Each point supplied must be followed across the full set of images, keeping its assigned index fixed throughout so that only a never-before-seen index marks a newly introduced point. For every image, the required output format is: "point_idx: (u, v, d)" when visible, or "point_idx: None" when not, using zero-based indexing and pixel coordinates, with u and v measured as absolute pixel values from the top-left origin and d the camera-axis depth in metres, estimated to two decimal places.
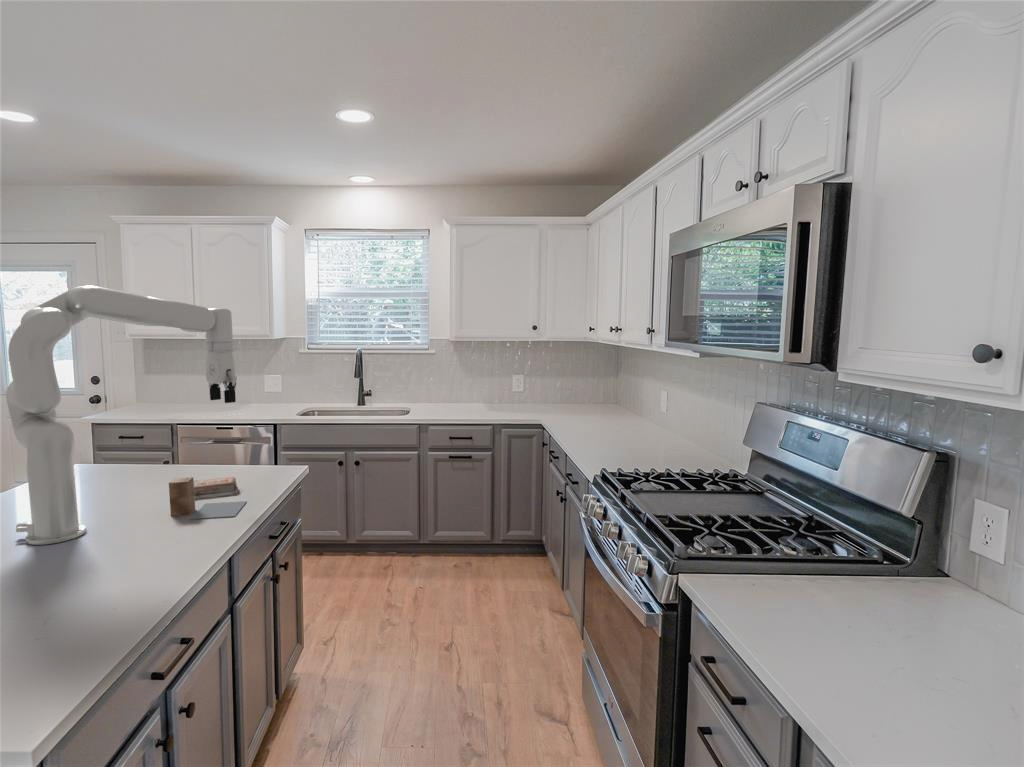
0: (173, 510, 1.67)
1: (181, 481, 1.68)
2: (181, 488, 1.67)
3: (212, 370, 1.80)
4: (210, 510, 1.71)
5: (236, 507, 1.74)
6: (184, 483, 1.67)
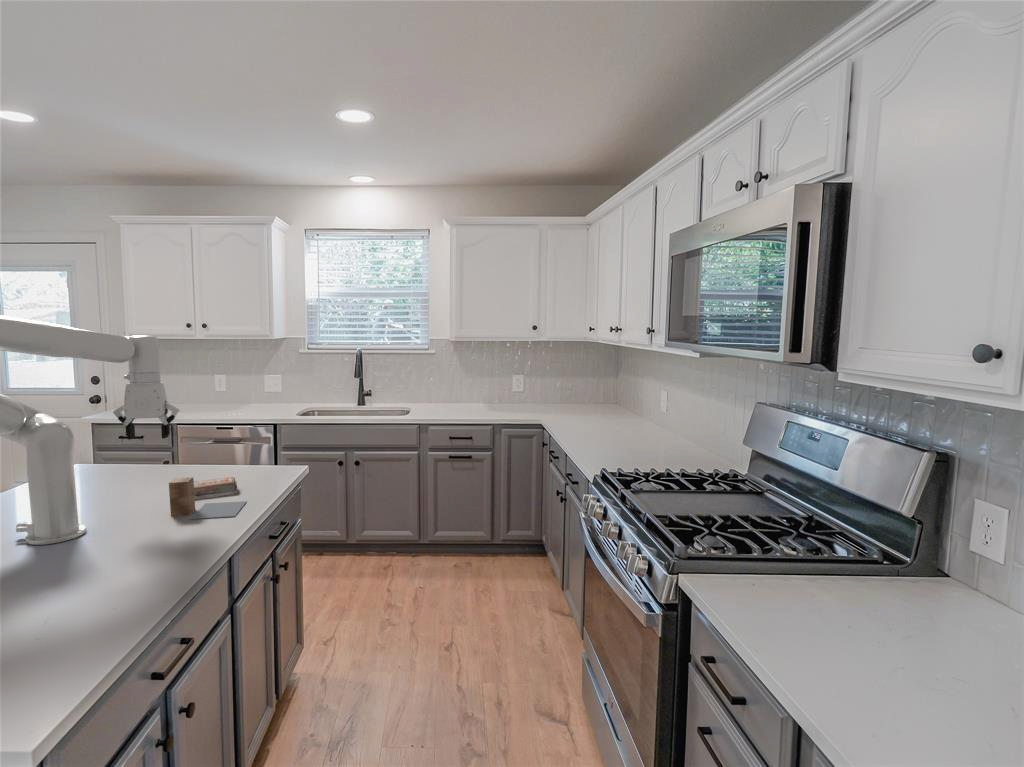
0: (173, 510, 1.67)
1: (181, 481, 1.68)
2: (181, 488, 1.67)
3: (143, 404, 1.62)
4: (210, 510, 1.71)
5: (236, 507, 1.74)
6: (184, 483, 1.67)
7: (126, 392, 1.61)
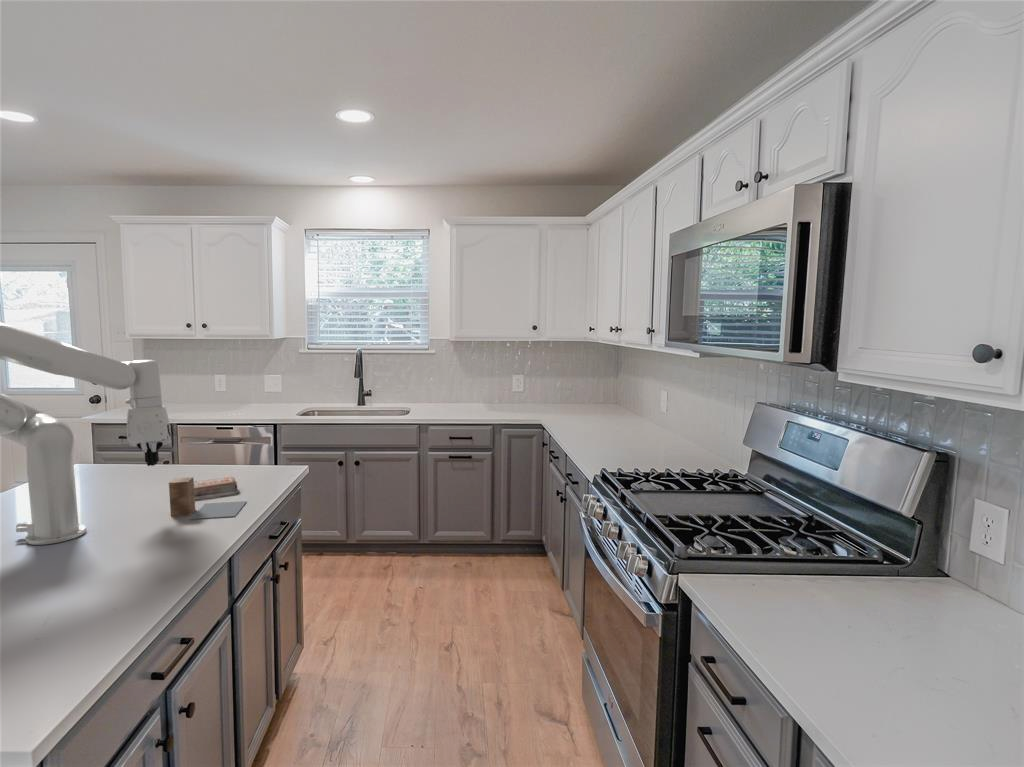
0: (173, 510, 1.67)
1: (181, 481, 1.68)
2: (181, 488, 1.67)
3: (146, 428, 1.63)
4: (210, 510, 1.71)
5: (236, 507, 1.74)
6: (184, 483, 1.67)
7: (128, 417, 1.62)
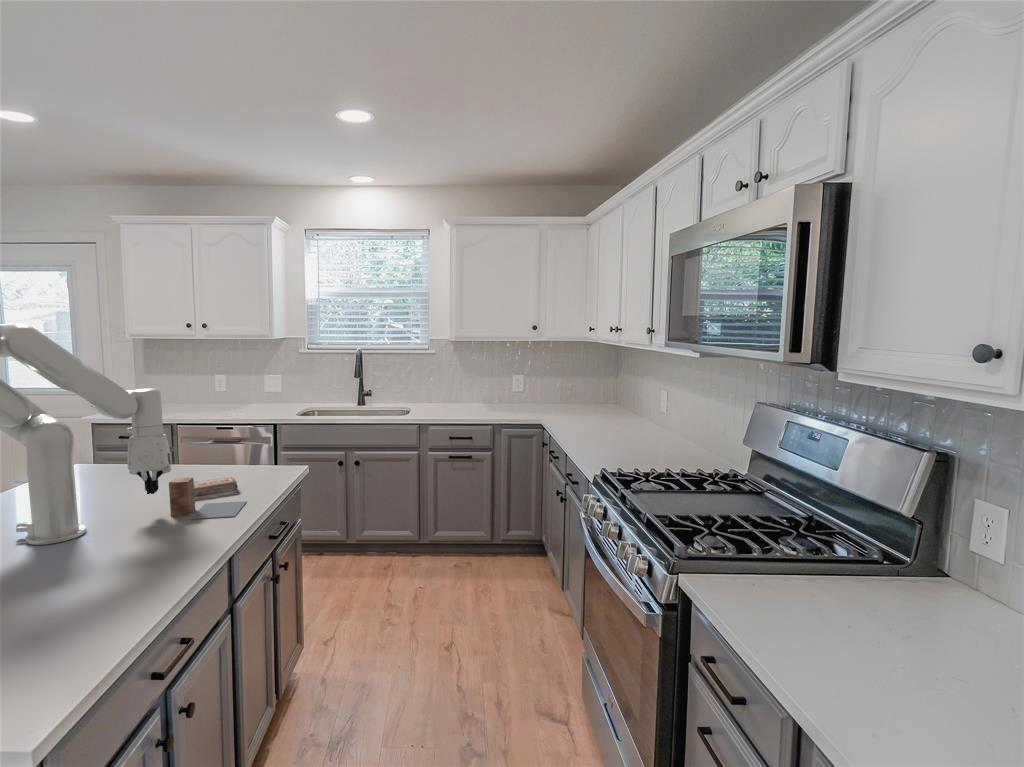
0: (173, 510, 1.67)
1: (181, 481, 1.68)
2: (181, 488, 1.67)
3: (146, 457, 1.64)
4: (210, 510, 1.71)
5: (236, 507, 1.74)
6: (184, 483, 1.67)
7: (129, 446, 1.63)
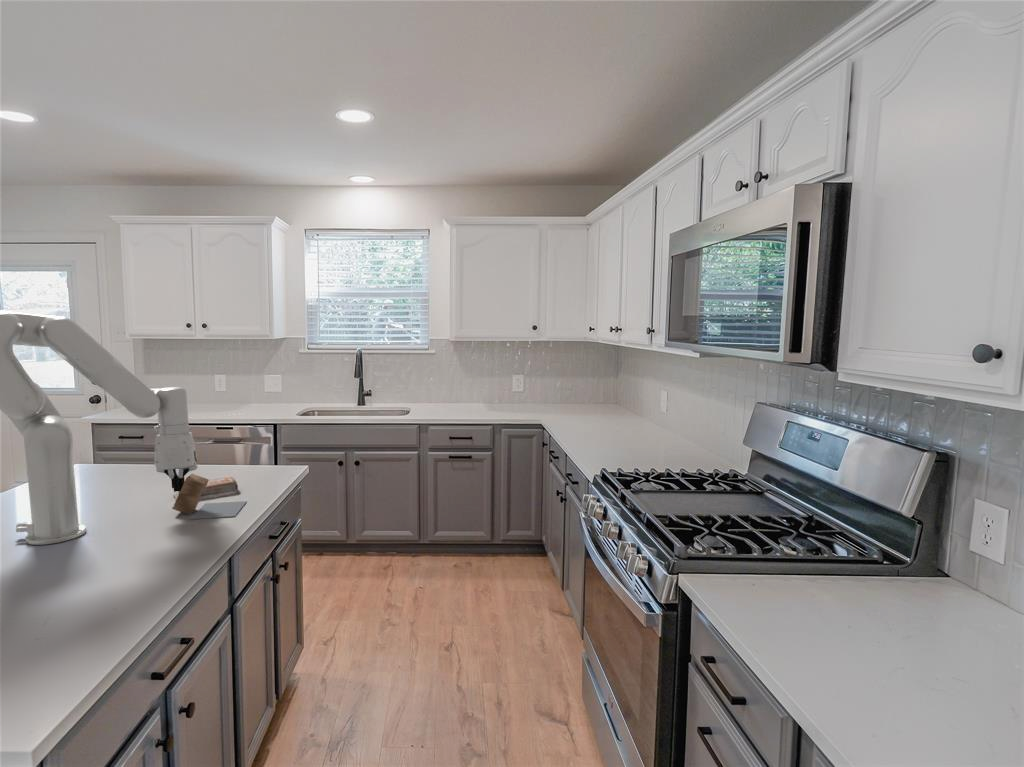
0: (177, 504, 1.67)
1: (198, 481, 1.69)
2: (195, 487, 1.68)
3: (173, 455, 1.66)
4: (210, 510, 1.71)
5: (236, 507, 1.74)
6: (200, 484, 1.68)
7: (156, 444, 1.65)
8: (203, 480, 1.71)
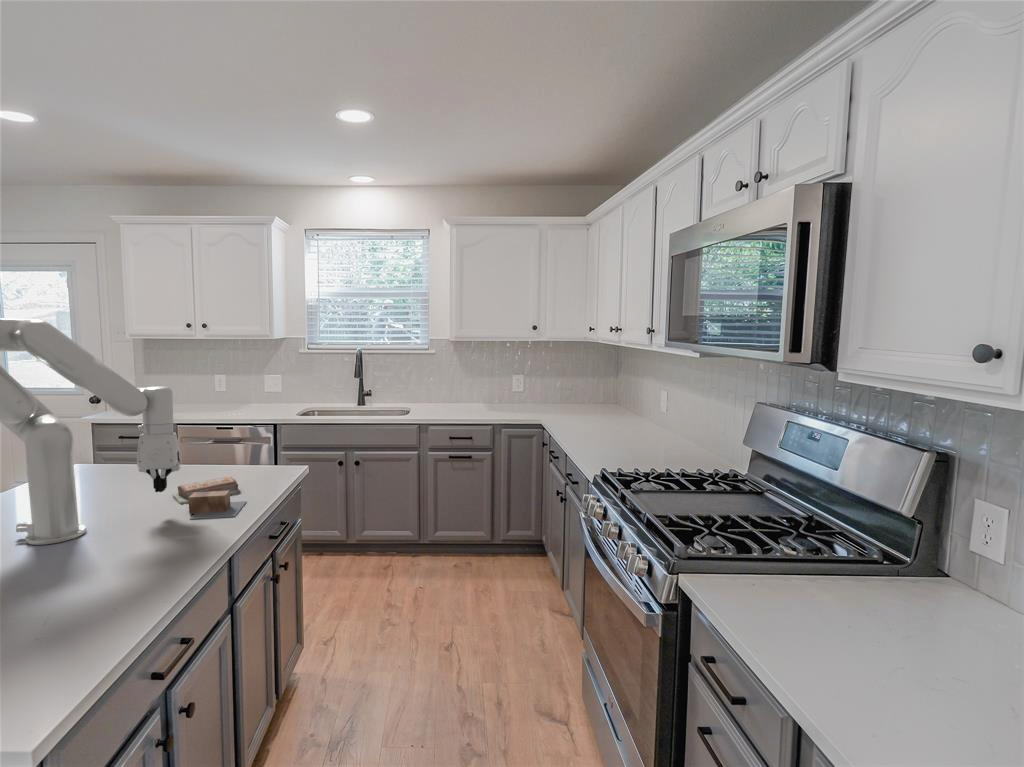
0: (195, 499, 1.68)
1: (226, 504, 1.71)
2: (218, 506, 1.70)
3: (156, 455, 1.64)
4: None
5: (236, 507, 1.74)
6: (224, 509, 1.70)
7: (139, 443, 1.63)
8: (228, 505, 1.73)
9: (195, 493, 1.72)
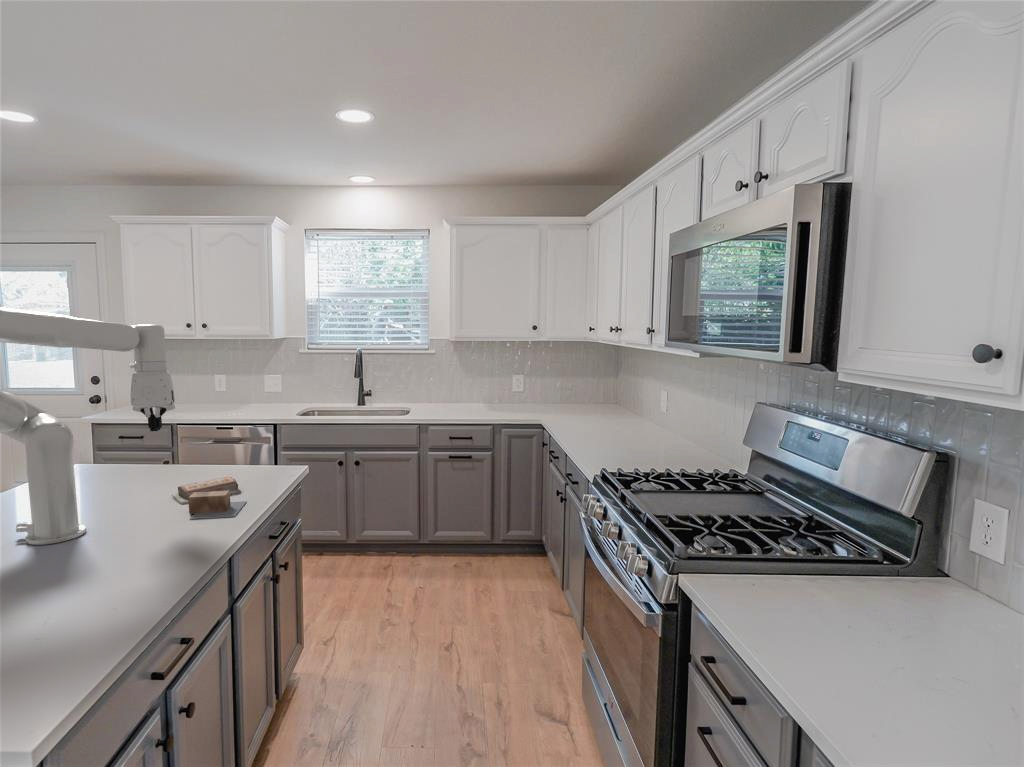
0: (195, 499, 1.68)
1: (226, 504, 1.71)
2: (218, 506, 1.70)
3: (150, 393, 1.62)
4: None
5: (236, 507, 1.74)
6: (224, 509, 1.70)
7: (133, 381, 1.61)
8: (228, 505, 1.73)
9: (195, 493, 1.72)
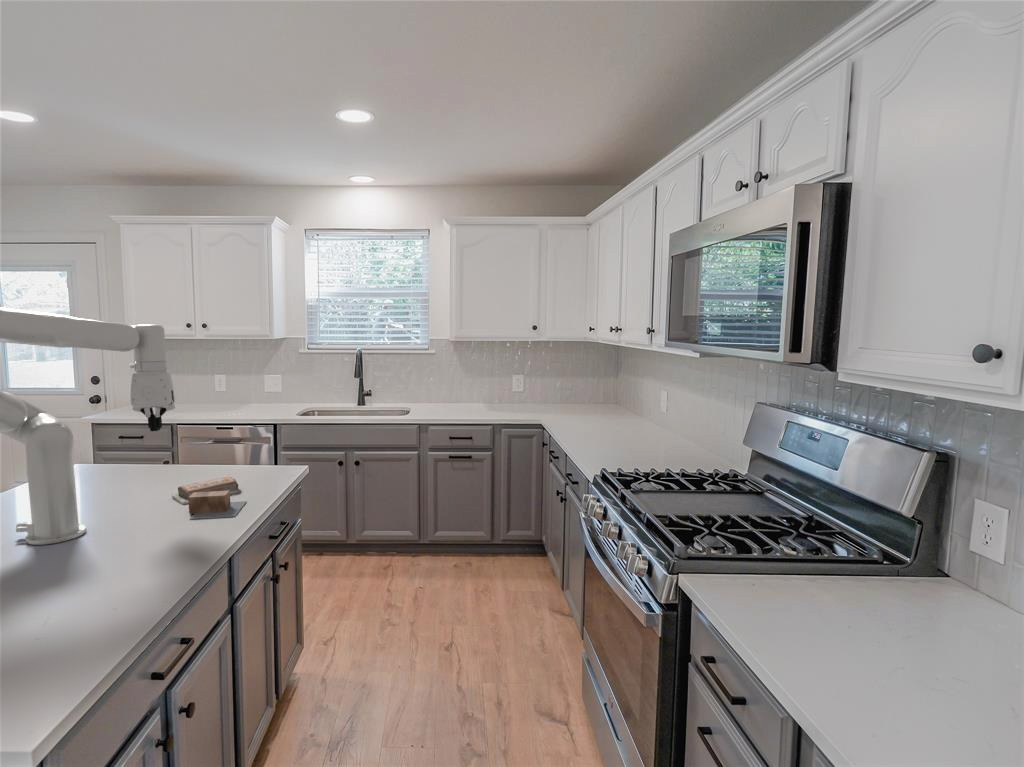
0: (195, 499, 1.68)
1: (226, 504, 1.71)
2: (218, 506, 1.70)
3: (150, 393, 1.62)
4: None
5: (236, 507, 1.74)
6: (224, 509, 1.70)
7: (133, 381, 1.61)
8: (228, 505, 1.73)
9: (195, 493, 1.72)
